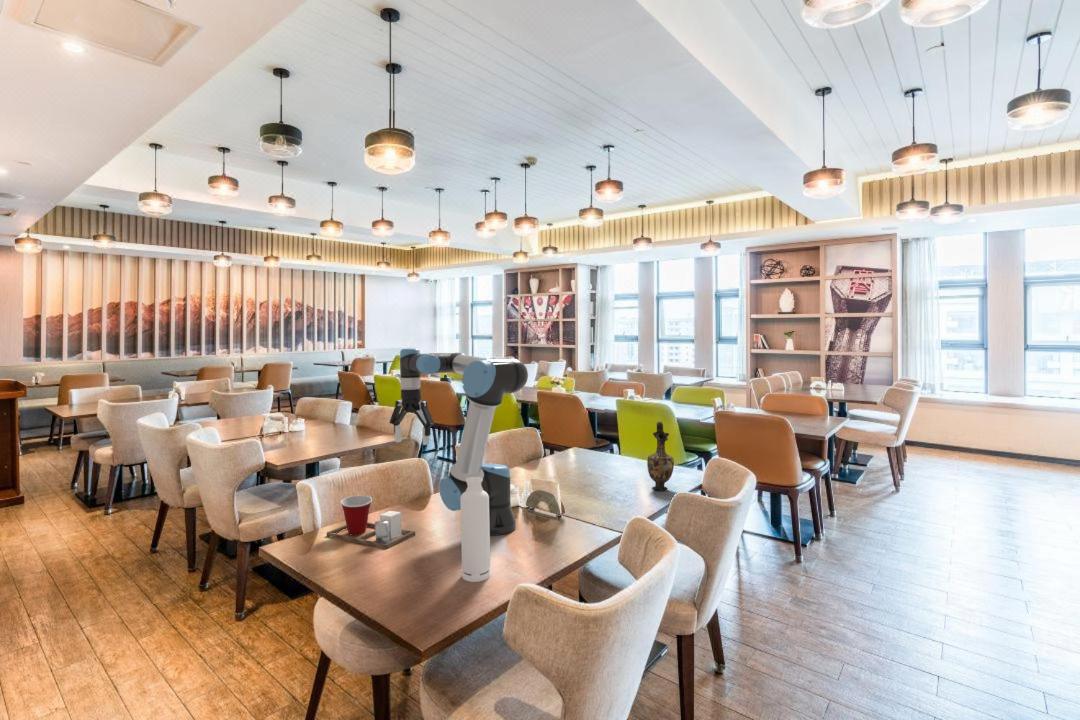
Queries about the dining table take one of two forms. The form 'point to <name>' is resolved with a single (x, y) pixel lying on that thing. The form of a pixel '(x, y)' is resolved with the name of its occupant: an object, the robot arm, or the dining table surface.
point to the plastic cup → (356, 513)
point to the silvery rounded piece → (382, 531)
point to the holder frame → (362, 538)
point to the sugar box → (393, 523)
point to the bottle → (475, 531)
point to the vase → (660, 461)
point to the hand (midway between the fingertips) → (412, 443)
